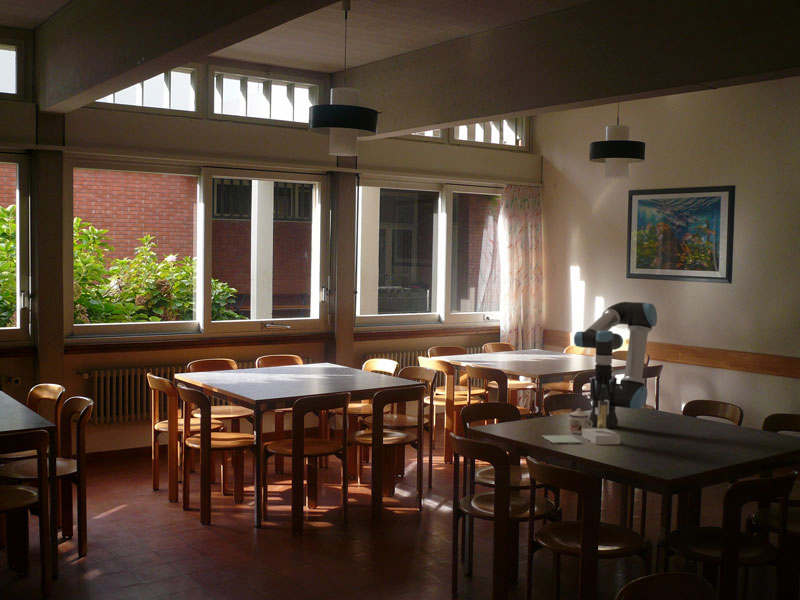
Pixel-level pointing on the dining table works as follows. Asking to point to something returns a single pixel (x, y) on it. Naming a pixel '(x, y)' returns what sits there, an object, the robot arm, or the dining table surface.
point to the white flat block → (601, 436)
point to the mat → (562, 439)
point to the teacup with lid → (579, 421)
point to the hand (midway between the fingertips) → (601, 414)
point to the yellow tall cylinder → (602, 415)
